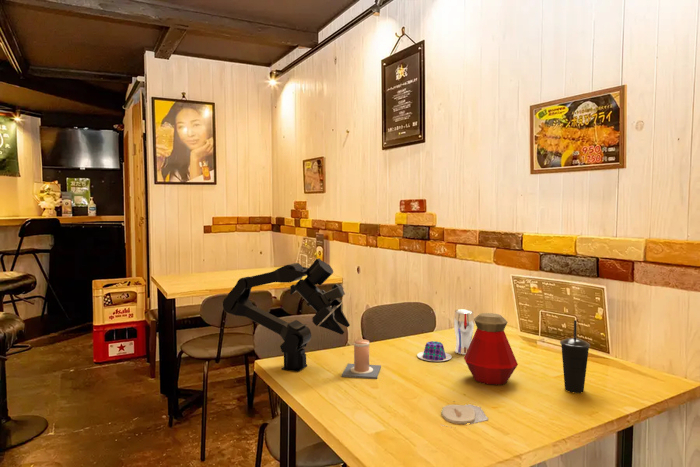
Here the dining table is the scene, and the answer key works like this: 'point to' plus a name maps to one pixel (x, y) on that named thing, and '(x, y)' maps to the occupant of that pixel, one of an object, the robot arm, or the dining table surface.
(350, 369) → the card
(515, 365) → the bottle
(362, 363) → the terracotta tube
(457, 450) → the dining table surface
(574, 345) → the drinking cup
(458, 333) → the beer glass
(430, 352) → the pudding
